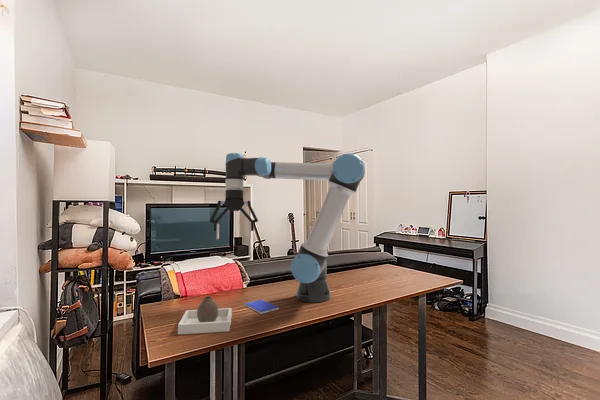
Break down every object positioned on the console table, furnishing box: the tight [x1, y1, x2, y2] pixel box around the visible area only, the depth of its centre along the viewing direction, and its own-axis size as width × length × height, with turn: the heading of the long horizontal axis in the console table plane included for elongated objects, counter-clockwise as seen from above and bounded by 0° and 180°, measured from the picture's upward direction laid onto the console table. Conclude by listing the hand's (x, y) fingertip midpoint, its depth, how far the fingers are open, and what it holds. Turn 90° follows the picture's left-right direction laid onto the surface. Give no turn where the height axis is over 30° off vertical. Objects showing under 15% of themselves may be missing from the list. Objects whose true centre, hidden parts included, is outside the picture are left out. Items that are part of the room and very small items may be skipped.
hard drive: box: [244, 299, 279, 315], centre depth 124 cm, size 2×8×12 cm
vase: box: [196, 295, 219, 323], centre depth 106 cm, size 7×7×9 cm
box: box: [177, 307, 233, 335], centre depth 106 cm, size 16×14×3 cm
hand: (234, 238), depth 132 cm, fingers open, 13 cm apart
